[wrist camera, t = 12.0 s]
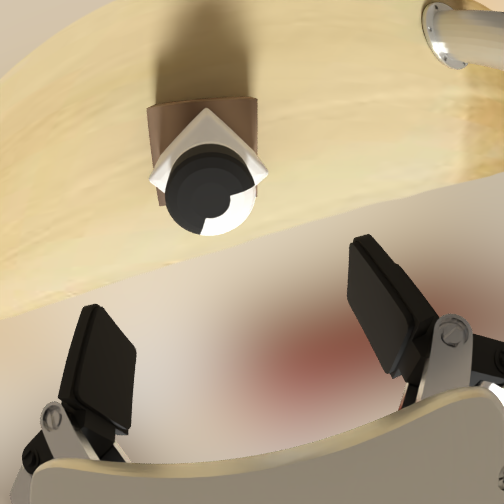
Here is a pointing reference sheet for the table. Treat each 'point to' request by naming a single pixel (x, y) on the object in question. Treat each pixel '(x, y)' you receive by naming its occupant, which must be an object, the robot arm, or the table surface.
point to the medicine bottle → (208, 176)
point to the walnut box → (183, 112)
